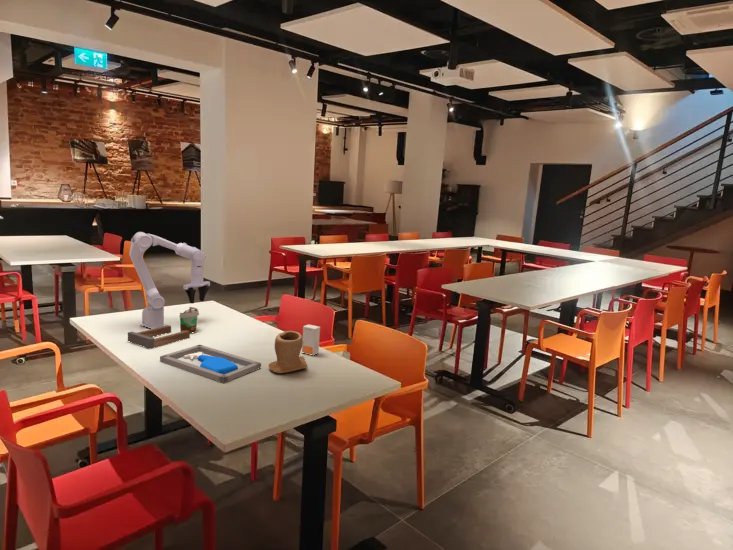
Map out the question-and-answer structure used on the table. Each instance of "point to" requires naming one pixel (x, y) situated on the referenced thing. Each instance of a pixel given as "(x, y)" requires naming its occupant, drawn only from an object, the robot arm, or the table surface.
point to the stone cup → (288, 353)
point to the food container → (189, 320)
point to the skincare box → (311, 339)
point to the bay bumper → (141, 339)
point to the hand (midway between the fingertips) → (196, 302)
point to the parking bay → (165, 339)
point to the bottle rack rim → (173, 361)
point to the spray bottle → (214, 363)
